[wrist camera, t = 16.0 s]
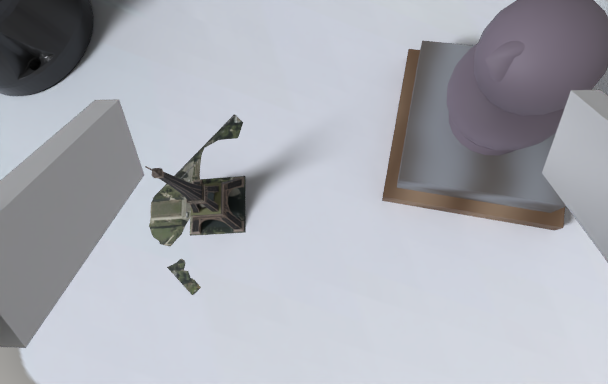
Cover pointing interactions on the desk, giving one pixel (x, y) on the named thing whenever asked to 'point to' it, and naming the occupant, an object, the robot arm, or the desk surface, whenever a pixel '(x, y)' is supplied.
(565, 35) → the cat figurine
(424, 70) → the display plinth
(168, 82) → the desk surface
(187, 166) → the eiffel tower figurine
